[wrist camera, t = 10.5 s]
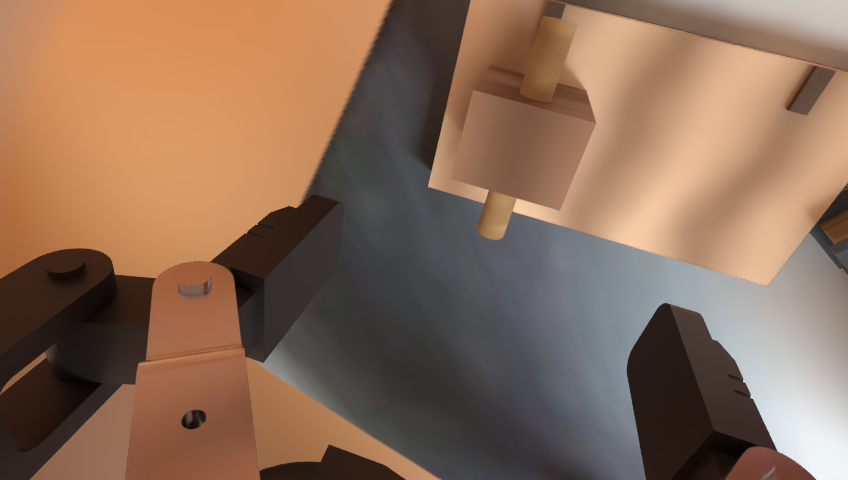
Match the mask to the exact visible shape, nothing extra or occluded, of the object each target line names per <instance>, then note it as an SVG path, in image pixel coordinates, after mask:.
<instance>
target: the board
mask: <svg viewBox="0 0 848 480" xmlns="http://www.w3.org/2000/svg"><path fill="white" fill-rule="evenodd" d="M543 16H547V17H552V18H557V19H561V20H565V21H568V22H572V23H575V24H577V25H578V26H577V29H576V32H575V34H574V37H573V40H572V43H571V46H570V49H569V51H568V54H567V57H566V60H565V63H564V66H563V68H562V71H561V74H560V77H559V80H558V83H560V84H564V85H567V86H571V87H575V88H579V89H583V90H586V91H587V94H588V97H589V101H590V104H591V107H592V110H593V114H594V117H595V120H596V125H595V128H594V130H593V132H592V135H591V137H590V140H589V142H588V144H587V147H586V149H585V152H584V154H583V156H582V159H581V161H580V164H579V166H578V168H577V171H576V173H575V176H574V178H573V180H572V183H571V185H570V188H569V190H568V192H567V195H566V197H565V200H564V202H563V204H562V207H561V209H560V211H559V210H555V209H552V208H548V207H545V206H542V205H538V204H535V203H531V202H528V201H524V200H521V199H516V202H515V205H514V208H513V212H516V213H519V214H523V215H526V216H530V217H533V218H537V219H540V220H543V221H547V222H550V223H554V224H557V225H560V226H564V227H567V228H571V229H574V230H577V231H581V232H584V233H588V234H591V235H594V236H598V237H601V238H605V239H608V240H611V241H615V242H618V243H622V244H625V245H629V246H632V247H635V248H639V249H642V250H646V251H649V252H652V253H656V254H659V255H663V256H666V257H669V258H673V259H676V260H680V261H683V262H686V263H690V264H693V265H697V266H700V267H703V268H707V269H710V270H714V271H717V272H721V273H724V274H727V275H731V276H734V277H738V278H741V279H744V280H748V281H751V282H755V283H758V284H761V285H765V286H767V285H768V284H769V283H770V282H771V280H772V279H773V278H774V277H775V275H776V274H777V273H778V271H779V270H780V269H781V268H782V266H783V265H784V264H785V262H786V261H787V260H788V259H789V257H790V256H791V255H792V253H793V252H794V251H795V250H796V248H797V247H798V246H799V245H800V243H801V242H802V241H803V239H804V238H805V237H806V236H807V234H808V233H809V232H810V230H811V229H812V228H813V227H814V225H815V224H816V223H817V222H818V220H819V219H820V218H821V216H822V215H823V214H824V213H825V211H826V210H827V209H828V207H829V206H830V205H831V204H832V202H833V201H834V200H835V198H836V197H837V196H838V195H839V193H840V192H841V191H842V190H843V188H844V187H845V186H846V184H847V183H848V71H844V70H840V69H835V68H831V67H827V66H823V65H819V64H815V63H811V62H807V61H803V60H799V59H795V58H791V57H786V56H782V55H778V54H774V53H770V52H766V51H762V50H758V49H754V48H750V47H746V46H741V45H737V44H733V43H729V42H725V41H721V40H717V39H713V38H709V37H705V36H701V35H697V34H692V33H688V32H684V31H680V30H676V29H672V28H668V27H664V26H660V25H656V24H652V23H647V22H643V21H639V20H635V19H631V18H627V17H623V16H619V15H615V14H611V13H607V12H603V11H598V10H594V9H590V8H586V7H582V6H578V5H574V4H570V3H566V2H562V1H558V0H471V1H470V6H469V10H468V14H467V19H466V23H465V28H464V32H463V36H462V41H461V45H460V49H459V54H458V58H457V63H456V67H455V71H454V76H453V80H452V85H451V89H450V93H449V98H448V102H447V106H446V111H445V115H444V120H443V124H442V128H441V133H440V137H439V141H438V146H437V150H436V155H435V159H434V163H433V168H432V172H431V177H430V181H429V185H428V187H431V188H434V189H438V190H441V191H445V192H448V193H451V194H455V195H458V196H462V197H465V198H468V199H472V200H475V201H479V202H482V203H485V201H486V198H487V195H488V192H489V190H486V189H483V188H480V187H476V186H473V185H469V184H466V183H462V182H459V181H455V180H452V179H451V175H452V171H453V167H454V163H455V159H456V155H457V151H458V147H459V144H460V140H461V136H462V132H463V128H464V124H465V120H466V116H467V112H468V108H469V104H470V100H471V97H472V93H473V89H474V88H475V87H476V85H477V84H478V82H479V81H480V79H481V78H482V76H483V75H484V73H485V72H486V70H487V69H488V67H489V66H490V65H491V66H495V67H499V68H503V69H507V70H510V71H514V72H518V73H522V74H525V72H526V69H527V66H528V63H529V59H530V56H531V53H532V50H533V47H534V43H535V40H536V37H537V34H538V31H539V27H540V24H541V21H542V18H543Z"/></svg>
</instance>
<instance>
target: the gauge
mask: <svg viewBox="0 0 848 480" xmlns="http://www.w3.org/2000/svg"><path fill="white" fill-rule="evenodd" d="M577 26H578V25H577V24H575V23H572V22H568V21H565V20H561V19H557V18H552V17H547V16H543V18H542V21H541V24H540V27H539V31H538V34H537V37H536V40H535V43H534V47H533V50H532V53H531V56H530V59H529V63H528V66H527V69H526V72H525V74H522V73H518V72H514V71H510V70H507V69H503V68H499V67H495V66H491V65H490V66H489V67H488V69H487V70H486V72H485V73H484V75H483V76H482V78H481V79H480V81H479V82H478V84H477V85H476V87H475V88H474V89H473V93H472V97H471V100H470V104H469V108H468V112H467V116H466V120H465V124H464V128H463V132H462V136H461V140H460V144H459V147H458V151H457V155H456V159H455V163H454V167H453V171H452V175H451V179H452V180H455V181H459V182H462V183H466V184H469V185H473V186H476V187H480V188H483V189H486V190H489V192H488V195H487V198H486V201H485V204H484V208H483V211H482V214H481V217H480V220H479V224H478V227H477V231H478V232H479V233H480V234H481V235H482V236H484V237H486V238H489V239H494V240H498V239H501V238H503V236H504V233H505V231H506V228H507V225H508V222H509V219H510V216H511V214H512V211H513V208H514V205H515V202H516V199H521V200H524V201H528V202H531V203H535V204H538V205H542V206H545V207H548V208H552V209H555V210H559V211H560V209H561V207H562V204H563V202H564V200H565V197H566V195H567V192H568V190H569V188H570V185H571V183H572V180H573V178H574V176H575V173H576V171H577V168H578V166H579V164H580V161H581V159H582V156H583V154H584V152H585V149H586V147H587V144H588V142H589V140H590V137H591V135H592V132H593V130H594V128H595V125H596V120H595V117H594V114H593V110H592V107H591V104H590V101H589V97H588V94H587V91H586V90H583V89H579V88H575V87H571V86H567V85H564V84H560V83H558V80H559V77H560V74H561V71H562V68H563V66H564V63H565V60H566V57H567V54H568V51H569V49H570V46H571V43H572V40H573V37H574V34H575V32H576V29H577Z"/></svg>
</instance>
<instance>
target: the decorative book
mask: <svg viewBox="0 0 848 480" xmlns="http://www.w3.org/2000/svg"><path fill="white" fill-rule="evenodd" d="M810 233H811V234H812V235H813V237H814V238H815V239H816V240H817V242H818V243H819V244H820V245H821V247H822V248H823V249H824V250H825V252H826V253H827V254H828V255H829V257H830V258H831V259H832V260H833V262H834V263H835V264H836V265H837V266H838V267H839V268H840V269H841V268H843V269H844V270H845V271H846V273H847V274H848V190H846V191H844V192H842V193H841V194H839V195H838V196H837V197H836V198H835V200H834V201H833V202H832V204H831V205H830V206H829V207H828V209H827V210H826V211H825V213H824V214H823V215H822V216H821V218H820V219H819V220H818V222H817V223H816V224H815V225H814V227H813V228H812V229H811V230H810Z"/></svg>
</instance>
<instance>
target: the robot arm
mask: <svg viewBox="0 0 848 480" xmlns="http://www.w3.org/2000/svg"><path fill="white" fill-rule="evenodd" d="M343 213H344V205H343V203H342V202H339V201H336V200H333V199H330V198H326V197H323V196H320V195H317V194H313V195H311V196H310V197H309V198H308V199H307V200H306V201H305V202H303V203H302V204H301V205H300V206H299V207H298V208H294V207H290V206H288V207H285V208H282V209H279V210H276V211H274V212H271V213H269V214H268V215H267V216H266V217H265V218H263V219H262V220H261V221H260V222H259V223H258V225H255V226H254V227H252V228H251V229H250V230H249V231H248V232H247V234H246V233H245V234H244V235H242V236H241V237H240V238H239V239H238V240H236V241H235V242H234V243H233V244H231V245H230V246H229V247H228V248H227V249H225V250H224V251H223V252H222V253H220V254H219V255H218V256H217V257H215V258H214V259H213V260H212V261H210V262H203V261H197V262H196V261H194V262H187V263H182V264H179V265H175V266H173V267H171V268H169V269H167V270H165V271H164V272H162V273H161V274H160V275H159V276H158V277H157V278H145V277H135V276H124V275H115V274H114V269H113V264H112V261H111V259H110V258H109V257H108V256H107V255H106V254H104V253H102V252H99V251H96V250H92V249H65V250H59V251H55V252H52V253H48V254H45V255H42V256H40V257H38V258H36V259H34V260H32V261H30V262H29V263H27V264H25V265H24V266H22V267H20V268H18V269H17V270H15V271H13V272H12V273H10V274H8V275H6V276H5V277H3V278H1V279H0V392H1V390H2V389H3V387H4V386H5V385H6V383H7V382H8V381H9V380H10V379H11V378H12V377H13V376H14V375H15V374H17V373H18V372H19V371H20V370H22V369H23V368H24V367H26V366H27V365H28V364H30V363H31V362H32V361H33V360H35V359H36V358H37V357H38V356H40V355H41V354H42V353H43V352H45V353H46V356H47V358H45V359H44V360H43V361H42V362H41V363H39V364H38V365H37V366H35V367H34V368H33V369H32V370H30V371H29V372H28V373H27V374H25V375H24V376H23V377H22V378H20V379H19V380H18V381H17V382H15V383H14V384H13V385H12V386H11V387H9V388H8V389H7V390H6V391H5V392H3V393H2V394H1V395H0V480H29V479H31V477H33V476H34V474H35V473H36V472H37V471H38V470H39V469H40V468H41V467H42V466H43V465H44V464H45V463H46V462H47V461H48V460H49V459H50V458H51V457H52V456H53V455H54V454H55V453H56V452H57V451H58V450H59V449H60V448H61V447H62V446H63V445H64V444H65V443H66V442H67V441H68V440H69V438H71V437H72V436H73V435H74V434H75V432H76V431H77V430H78V429H79V428H80V427H81V426H82V425H83V424H84V423H85V422H86V421H87V420H88V419H89V418H90V417H91V416H92V415H93V414H94V413H95V412H96V411H97V410H98V409H99V408H100V407H101V406H102V405H103V404H104V403H105V402H106V400H108V399H109V398H110V397H111V396H112V394H114V392H115V391H116V390H117V389H118V388H119V387H120V386H121V385H122V384H135V393H134V401H133V411H132V419H131V429H130V437H129V447H128V455H127V465H126V473H125V480H405V479H404V478H402V477H401V476H399V475H398V474H397V473H395V472H394V471H392V470H391V469H390V468H388V467H387V466H385V465H383V464H380V463H377V462H375V461H372V460H369V459H367V458H364V457H361V456H358V455H356V454H353V453H350V452H348V451H345V450H342V449H339V448H337V447H334V446H331V445H329V446H328V448H327V450H326V452H325V454H324V456H323V458H322V460H321V462H293V463H287V464H280V465H277V466H273V467H269V468H266V469H263V470H260V471H259V465H258V457H257V448H256V440H255V433H254V425H253V415H252V408H251V399H250V390H249V382H248V374H247V365H246V357H248V358H252V359H254V360H257V361H260V362H262V363H264V361H265V360H266V359H267V357H268V356H269V355H270V354H271V352H272V351H273V350H274V348H275V347H276V346H277V344H278V343H279V342H280V340H281V339H282V338H283V337H284V335H285V334H286V333H287V331H288V330H289V329H290V327H291V326H292V325H293V323H294V322H295V321H296V320H297V318H298V317H299V316H300V314H301V313H302V312H303V310H304V309H305V308H306V306H307V305H308V304H309V303H310V301H311V300H312V299H313V297H314V296H315V295H316V293H317V292H318V291H319V290H320V288H321V287H322V286H323V284H324V283H325V282H326V280H327V279H328V278H329V276H330V275H331V273H332V272H333V270H334V267H335V265H336V262H337V259H338V254H339V247H340V238H341V230H342V222H343ZM627 376H628V382H629V387H630V393H631V398H632V404H633V410H634V415H635V421H636V426H637V432H638V437H639V443H640V448H641V454H642V459H643V465H644V471H645V476H646V480H816V479H815V478H814V477H813V476H812V475H811V474H810V473H809V472H808V471H807V470H806V469H804V468H803V467H802V466H801V465H799V464H798V463H796V462H795V461H794V460H792V459H791V458H789V457H787V456H785V455H784V454H782V453H779V452H778V451H777V449H776V447H775V445H774V443H773V441H772V439H771V437H770V434H769V432H768V430H767V428H766V426H765V424H764V422H763V420H762V417H761V415H760V413H759V411H758V409H757V407H756V405H755V403H754V400H753V399H751V398H750V396H751V394H750V392H749V390H748V388H747V386H746V383H744V382H743V377H742V375H741V373H740V371H739V368H738V366H737V364H736V362H735V360H734V359H733V358H732V357H731V356H730V355H729V353H728V352H727V351H726V350H725V349H724V348H723V347H722V345H721V344H720V343H719V342H718V341H715V340H712V338H711V336H710V333H709V331H708V329H707V326H706V324H705V322H704V319H703V317H702V316H701V314H699V313H697V312H694V311H691V310H687V309H684V308H681V307H678V306H674V305H671V304H668V303H664V304H662V305H661V306H659V308H658V309H657V310H656V312H655V313H654V315H653V317H652V318H651V320H650V321H649V323H648V325H647V326H646V328H645V329H644V331H643V332H642V334H641V336H640V337H639V339H638V340H637V342H636V344H635V345H634V347H633V349H632V350H631V353H630V355H629V359H628V364H627Z"/></svg>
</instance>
